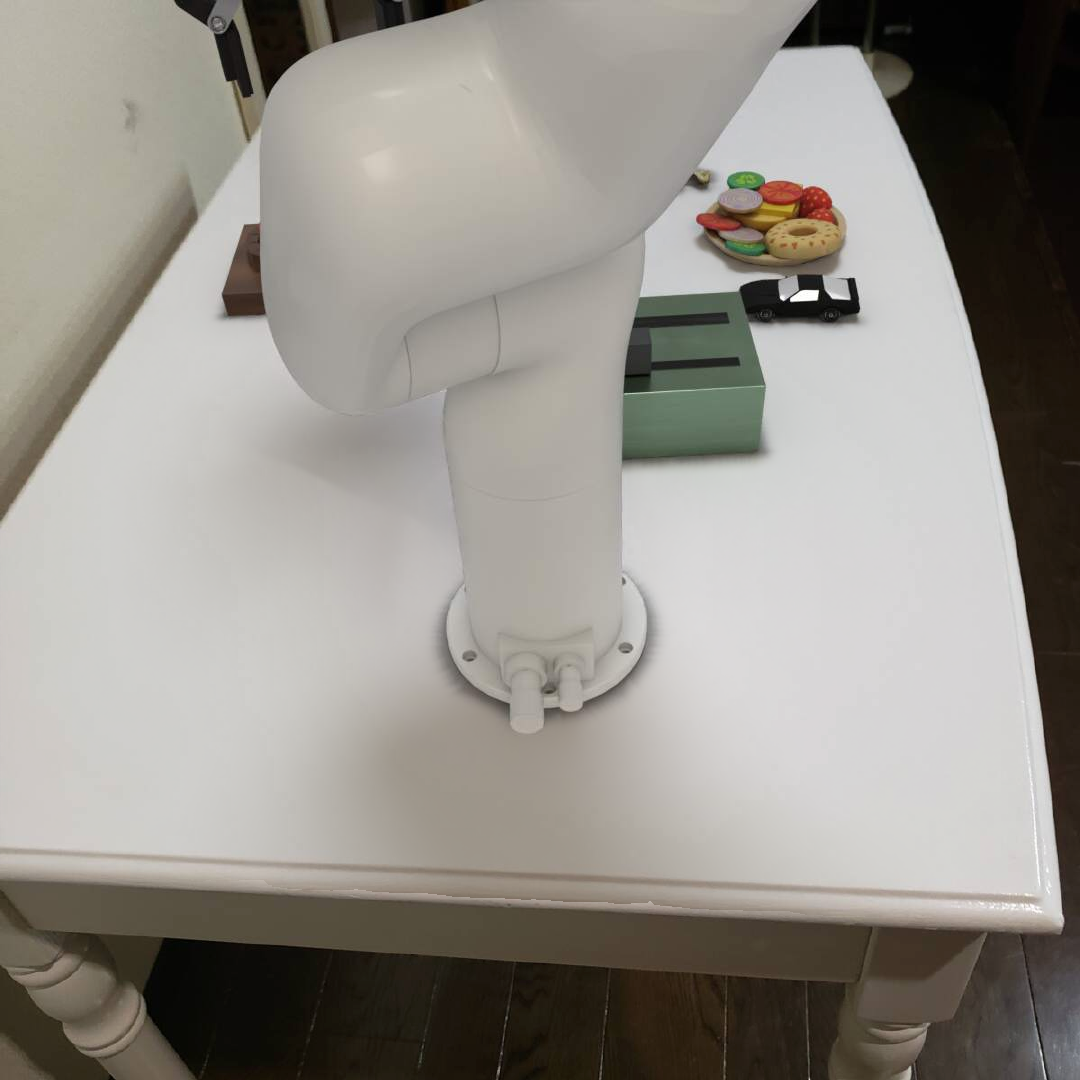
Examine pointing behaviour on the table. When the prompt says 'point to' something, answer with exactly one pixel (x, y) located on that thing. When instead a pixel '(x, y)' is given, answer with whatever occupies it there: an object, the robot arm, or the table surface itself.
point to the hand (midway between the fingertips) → (319, 75)
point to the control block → (245, 276)
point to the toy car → (801, 297)
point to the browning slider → (639, 352)
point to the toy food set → (773, 221)
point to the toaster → (694, 379)
